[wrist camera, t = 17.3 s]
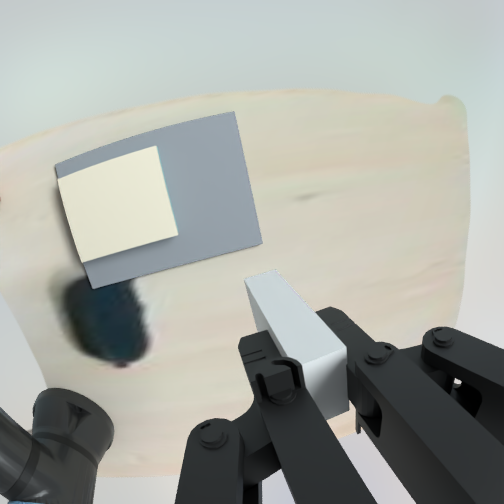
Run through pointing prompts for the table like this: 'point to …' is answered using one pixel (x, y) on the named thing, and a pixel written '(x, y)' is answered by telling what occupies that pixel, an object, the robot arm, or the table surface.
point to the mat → (185, 197)
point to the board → (118, 204)
